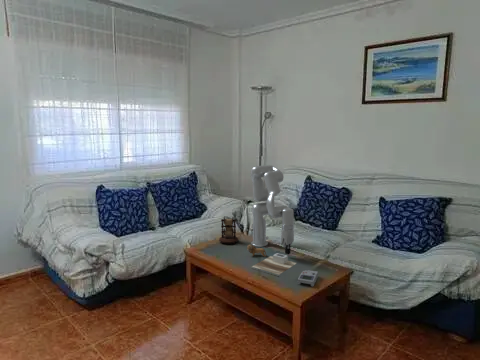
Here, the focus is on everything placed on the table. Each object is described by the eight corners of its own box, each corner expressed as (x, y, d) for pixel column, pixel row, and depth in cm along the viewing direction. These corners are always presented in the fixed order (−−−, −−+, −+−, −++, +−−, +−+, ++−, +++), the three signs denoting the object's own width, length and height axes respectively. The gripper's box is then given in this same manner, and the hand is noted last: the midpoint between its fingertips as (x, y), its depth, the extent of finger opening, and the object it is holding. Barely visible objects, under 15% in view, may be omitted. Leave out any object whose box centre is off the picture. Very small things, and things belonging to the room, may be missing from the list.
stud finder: (276, 258, 227) (277, 252, 226) (287, 261, 222) (287, 255, 222) (272, 261, 223) (273, 254, 223) (283, 264, 218) (283, 257, 218)
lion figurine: (246, 258, 232) (246, 245, 230) (247, 255, 237) (247, 243, 236) (268, 259, 231) (268, 246, 229) (268, 256, 236) (268, 243, 234)
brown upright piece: (239, 239, 272) (239, 214, 269) (237, 245, 258) (237, 219, 255) (220, 238, 274) (220, 214, 271) (217, 244, 259) (217, 219, 256)
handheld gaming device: (318, 277, 203) (318, 271, 203) (313, 287, 190) (313, 281, 189) (303, 275, 207) (303, 269, 206) (297, 285, 193) (297, 278, 193)
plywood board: (270, 258, 232) (270, 256, 232) (296, 265, 220) (296, 263, 220) (251, 268, 215) (251, 266, 215) (279, 277, 203) (279, 274, 203)
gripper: (288, 223, 235) (288, 249, 237) (277, 228, 223) (277, 255, 225) (298, 225, 230) (298, 251, 232) (287, 230, 218) (287, 258, 221)
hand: (287, 253), depth 229 cm, fingers closed
